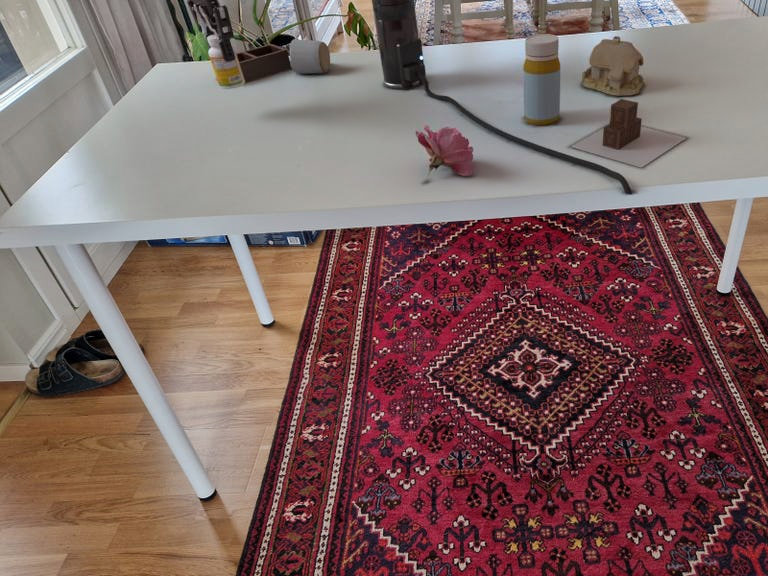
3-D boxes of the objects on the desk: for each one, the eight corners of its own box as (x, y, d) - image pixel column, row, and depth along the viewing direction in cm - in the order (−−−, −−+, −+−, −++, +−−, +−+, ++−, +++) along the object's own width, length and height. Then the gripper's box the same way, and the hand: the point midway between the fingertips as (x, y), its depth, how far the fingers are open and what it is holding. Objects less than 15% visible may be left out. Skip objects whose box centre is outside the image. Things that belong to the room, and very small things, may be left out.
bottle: (536, 129, 124) (535, 46, 114) (518, 118, 129) (516, 38, 119) (566, 120, 127) (568, 39, 117) (547, 110, 131) (547, 31, 121)
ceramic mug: (325, 76, 157) (318, 43, 152) (293, 77, 158) (285, 44, 153) (337, 63, 165) (331, 31, 160) (307, 64, 166) (299, 32, 161)
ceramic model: (653, 83, 139) (659, 33, 132) (630, 100, 133) (635, 48, 126) (595, 74, 146) (598, 26, 139) (571, 89, 139) (572, 40, 133)
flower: (452, 172, 120) (480, 126, 115) (459, 200, 113) (489, 153, 108) (397, 145, 115) (424, 96, 109) (402, 173, 108) (431, 123, 102)
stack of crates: (641, 167, 109) (645, 128, 105) (570, 147, 117) (571, 109, 113) (686, 138, 117) (692, 100, 112) (617, 120, 125) (620, 84, 120)
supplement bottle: (226, 81, 138) (210, 32, 132) (249, 80, 137) (234, 31, 131) (215, 90, 134) (198, 40, 128) (239, 89, 134) (223, 39, 127)
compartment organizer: (291, 68, 164) (287, 49, 161) (232, 86, 156) (226, 66, 153) (275, 62, 169) (271, 43, 166) (217, 79, 161) (211, 60, 158)
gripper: (228, -37, 119) (256, 59, 130) (196, -44, 127) (225, 47, 138) (189, -29, 115) (222, 69, 126) (160, -36, 124) (193, 57, 135)
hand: (223, 57), depth 132 cm, fingers closed on supplement bottle, 5 cm apart
